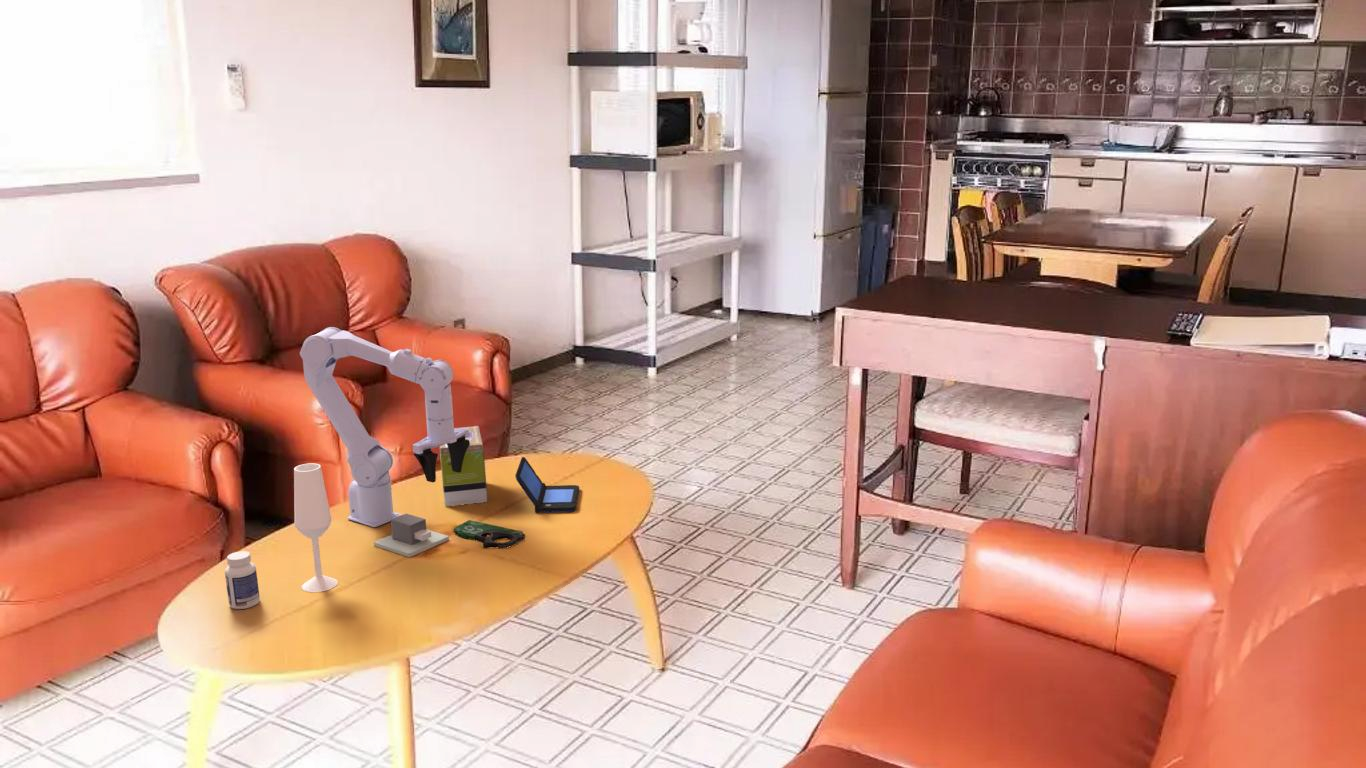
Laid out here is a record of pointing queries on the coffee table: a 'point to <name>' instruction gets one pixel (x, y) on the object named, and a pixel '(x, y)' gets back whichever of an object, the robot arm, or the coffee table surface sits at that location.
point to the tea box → (465, 473)
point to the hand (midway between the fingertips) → (444, 476)
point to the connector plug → (409, 529)
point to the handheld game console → (546, 491)
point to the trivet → (409, 549)
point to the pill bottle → (241, 581)
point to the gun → (488, 534)
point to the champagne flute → (312, 518)
